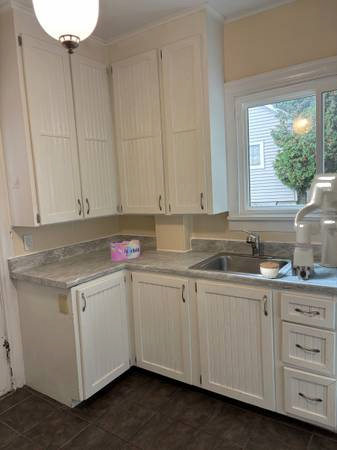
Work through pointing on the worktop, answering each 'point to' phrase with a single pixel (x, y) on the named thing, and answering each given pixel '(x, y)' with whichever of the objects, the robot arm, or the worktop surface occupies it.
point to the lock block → (299, 273)
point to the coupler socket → (296, 268)
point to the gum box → (125, 250)
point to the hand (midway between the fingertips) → (303, 277)
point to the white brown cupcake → (269, 269)
